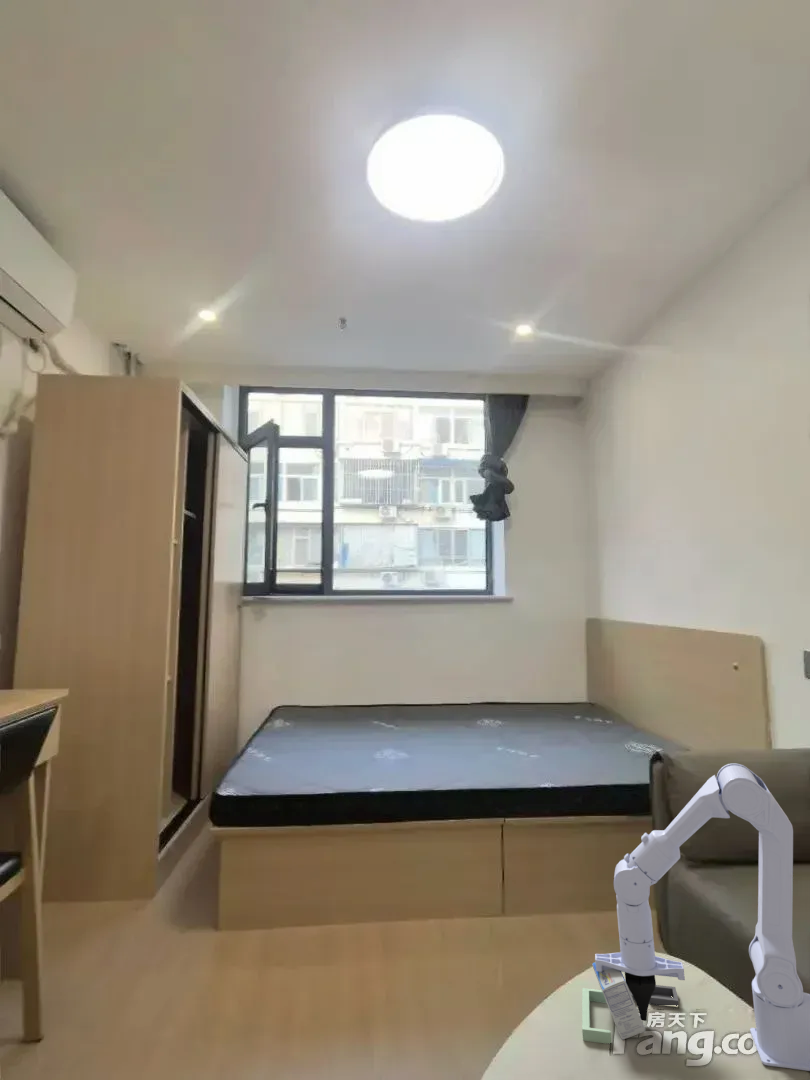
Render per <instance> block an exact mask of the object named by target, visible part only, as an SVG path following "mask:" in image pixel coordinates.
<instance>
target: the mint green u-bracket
mask: <svg viewBox="0 0 810 1080" xmlns="http://www.w3.org/2000/svg"><path fill="white" fill-rule="evenodd" d="M581 991H582V992H581V994H582V995H581V1001H582V1002H581V1007H582V1008H581V1016H582V1017H581V1030H582V1031H581V1033H582V1041H585V1042H591V1043H592V1042H593V1043H598V1044H599V1043H601V1044H606V1043H609V1044H608V1045H611V1044H610V1043H612V1034H611V1032H612V1031H611V1030H610V1029H603V1028H594V1027H591V1002H595V1003H605V1004H607V1002H606V1000H605V997H604V994H603V992H602V989H596V988H595V989H594V988H586V987H582V988H581Z"/></svg>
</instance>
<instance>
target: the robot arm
mask: <svg viewBox="0 0 810 1080" xmlns="http://www.w3.org/2000/svg"><path fill="white" fill-rule="evenodd" d="M729 812H731V813H732V814H733V815H735V816H736V817H738V818H740V819H743V820H744V821H746V822H749V823H750V825H752V827H754V828H755V829H756V830H757V831H758V881H757V882H758V883H757V885H758V895H757V904H758V905H757V923H756V925H755V930H754V932H755V933H754V934H755V935H754V937H753V939H752V940H751V942H750V943H749V946H748V954H749V958H750V960H751V962H752V966H753V969H754V972H755V976H754V978H752V981H751V990H752V1001H753V1011H754V1020H755V1021H754V1022H755V1027H750V1028H749V1032H750V1034H751V1037H752V1040H753V1042H754V1046H755V1049H756V1050H757V1051H756V1052H757V1053H758V1056H759V1059H760V1061H761V1063H762V1064H763V1065H765V1066H771V1067H778V1068H784V1069H785V1068H787V1069H791V1070H792V1069H793V1070H801V1071H808V1072H810V993H807V992H804V988H803V983H802V981H801V979H800V977H799V974H798V972H797V958H796V952H795V948H794V942H793V900H794V899H793V898H794V897H793V896H794V895H793V892H794V891H793V889H794V888H793V881H794V880H793V879H794V877H793V875H794V874H793V873H794V866H793V865H794V828H793V827H794V826H793V824H792V823H791V820H789V817H788V816H787V814H786V813H785V811H784V810H783V809H782V807H781V806H780V804H779V803H778V801H777V800H776V798H775V796H774V795H773V794H772V792H770V790H769V788H768V786H767V785H766V783H765V782H764V780H763V779H762V778H761V777H760V776H759V775H757V774H756V773H755V772H753V771H752V770H751V769H750V768H748V767H747V766H745V765H744V764H740V763H727V764H725V765H723V766H722V767H721V768H720V769H719V770H718V772H717V773H716V774H714V775H712V776H711V777H709V778H708V779H707V780H706V782H705V783H703V785H702V786H701V787H700V788H699V790H698V791H697V792H696V793H695V794H694V795H693V797H692V798H691V799H690V800H689V801H688V802H687V803H686V805H685V806H684V807H683V808H682V809H681V810H680V811H679V813H678V814H677V816H676V817H674V819H672V821H671V822H670V823H669V824H668V826H667V827H666V828H665V829H664V830H663V829H662V830H660V829H658V830H657V829H654V830H652V831H651V832H650V833H649V834H648V833H647V832H644V833H643V835H641V836H640V837H641V838H640V839H641V843H639V845H637V847H636V848H635V849H633V851H631V853H629V852H628V853H626V854H625V855H623V858H622V859H621V860H619V862H618V863H617V864H616V865H615V868H614V876H613V878H614V879H613V890H614V892H615V894H616V895H615V897H616V915H617V916H616V917H617V927H618V935H619V937H618V939H619V949H620V950H619V952H611V953H595V954H594V955H595V956H594V961H595V962H596V971H600V972H602V971H603V970H607V969H612V968H614V969H617V970H620V971H621V972H622V973H624V979H625V981H626V983H627V986H628V988H629V989H630V991H631V993H632V995H633V997H634V999H635V1005H636V1008H637V1010H638V1013H639V1015H640V1018H641V1020H642V1022H643V1021H645V1022H646V1021H647V1020H648V1019H647V1018H648V1017H647V1016H648V1009H649V1007H650V1006H649V1005H650V1004H649V1002H650V999H651V996H652V994H653V992H654V990H655V987H656V985H657V983H656V982H657V981H656V976H661V977H670V978H677V979H678V980H679V981H685V969H684V965H683V962H682V961H676V960H671V959H667V958H664V957H661V956H657V955H656V953H655V941H654V929H653V919H652V910H651V909H652V908H651V906H650V904H649V898H650V892H651V891H650V888H651V886H653V885H654V884H657V883H658V882H659V880H660V879H662V877H664V875H665V874H667V872H668V871H669V870H670V869H671V868H672V867H673V866H675V864H676V863H678V861H679V860H680V859H681V850H680V847H681V846H682V845H683V844H684V843H685V842H687V840H688V839H690V838H691V837H692V836H693V835H694V834H695V833H696V832H697V831H699V829H701V828H702V827H703V826H704V825H705V824H706V823H707V822H708V821H709V820H711V819H712V818H716V819H717V818H719V819H730V818H731V817H730V813H729Z"/></svg>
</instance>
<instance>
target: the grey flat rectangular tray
mask: <svg viewBox="0 0 810 1080" xmlns="http://www.w3.org/2000/svg"><path fill="white" fill-rule="evenodd" d="M671 996H672V997H673V998H672V997H671ZM649 1005H651V1006H652V1005H653V1006H659V1005H676V1006H677V1005H679V1006H680V1003H679V998H678V992H677V988H676V986H668V985H660V984H656V987H655V990H654V992H653V994H652V996H651V999H650V1002H649Z"/></svg>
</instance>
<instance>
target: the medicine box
mask: <svg viewBox="0 0 810 1080" xmlns="http://www.w3.org/2000/svg"><path fill="white" fill-rule="evenodd" d="M592 968H593V971H594V973H595V977H596V978H597V981H598V985H599V986H600V990H602V992H603V994H604V997H605V1000H606V1002H607V1003H606V1004H607V1008H608V1010H609V1011H610V1014H611V1017H612V1020H613V1022H614V1024H615V1027H616V1029H617V1032H618V1034H619V1036H620V1038H621V1040H622V1041H623V1040H625V1039H626V1040H627V1039H629V1038H631V1037H633V1036H636V1035H639V1034H642V1033H645V1032H646V1027H645V1026H644V1023H643V1020H641V1018H640V1013H639V1010H638V1007H637V1004H636V1002H635V1003H634V1000H633V998H632V996H631V993H630V991H629V988H628V986H627V983H626V980H625V976H624V975H623V972H621V971H620V970H617V969H614V968H612V969H607V970H603V971H602V972H600V971H596V962H593V963H592Z"/></svg>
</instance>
